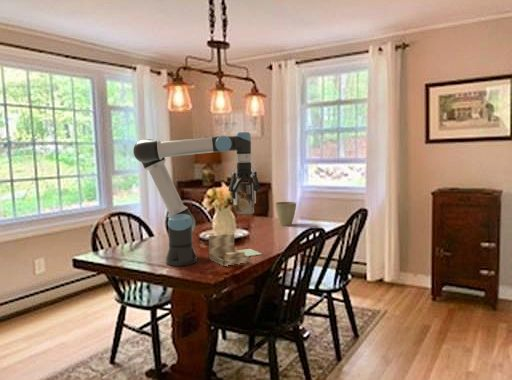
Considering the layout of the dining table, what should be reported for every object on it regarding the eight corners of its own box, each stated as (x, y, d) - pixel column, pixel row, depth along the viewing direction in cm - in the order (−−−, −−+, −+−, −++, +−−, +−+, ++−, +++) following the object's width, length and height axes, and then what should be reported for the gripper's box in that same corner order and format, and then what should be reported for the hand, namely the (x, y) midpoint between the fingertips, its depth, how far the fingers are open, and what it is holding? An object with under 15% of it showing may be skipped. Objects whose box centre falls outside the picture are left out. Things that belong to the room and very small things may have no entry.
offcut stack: (225, 266, 212) (225, 255, 212) (222, 264, 215) (222, 253, 215) (245, 262, 218) (245, 251, 217) (242, 261, 221) (241, 250, 220)
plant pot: (300, 224, 317) (299, 202, 315) (290, 227, 304) (290, 204, 303) (281, 222, 325) (281, 201, 323) (271, 225, 312) (271, 203, 310)
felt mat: (241, 257, 227) (241, 256, 227) (230, 252, 238) (230, 251, 238) (261, 254, 232) (261, 253, 232) (249, 249, 244) (249, 248, 244)
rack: (223, 267, 211) (222, 242, 209) (209, 259, 225) (208, 236, 224) (249, 262, 217) (248, 238, 216) (233, 255, 232) (233, 232, 231)
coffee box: (254, 212, 235) (254, 182, 234) (252, 213, 229) (252, 183, 227) (237, 212, 236) (237, 182, 235) (235, 213, 230) (234, 183, 229)
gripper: (227, 163, 221) (228, 206, 223) (266, 161, 232) (267, 202, 235) (221, 162, 227) (222, 204, 230) (259, 160, 239) (260, 201, 241)
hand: (244, 203), depth 232 cm, fingers closed on coffee box, 10 cm apart
